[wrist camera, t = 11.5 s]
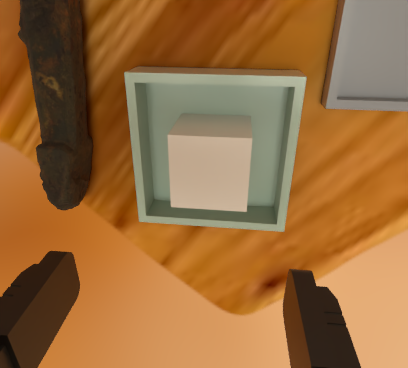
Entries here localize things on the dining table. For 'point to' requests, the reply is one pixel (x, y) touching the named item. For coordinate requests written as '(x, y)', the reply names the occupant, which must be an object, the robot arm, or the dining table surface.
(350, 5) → the bin
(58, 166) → the hand tool
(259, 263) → the dining table surface
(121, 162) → the dining table surface
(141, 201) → the bin
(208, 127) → the beige block
